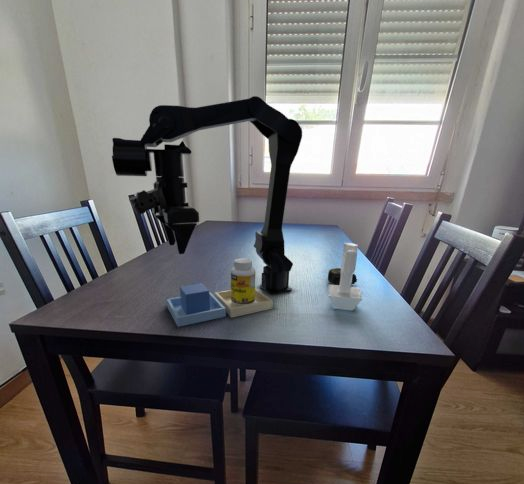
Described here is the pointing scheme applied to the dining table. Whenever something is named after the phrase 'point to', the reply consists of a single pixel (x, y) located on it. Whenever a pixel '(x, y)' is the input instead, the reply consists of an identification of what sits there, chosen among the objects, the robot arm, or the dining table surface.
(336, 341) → the dining table surface
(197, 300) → the blue block
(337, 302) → the white joystick
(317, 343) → the dining table surface
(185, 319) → the blue tray
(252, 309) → the cream tray
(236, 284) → the supplement bottle
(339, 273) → the tape measure
